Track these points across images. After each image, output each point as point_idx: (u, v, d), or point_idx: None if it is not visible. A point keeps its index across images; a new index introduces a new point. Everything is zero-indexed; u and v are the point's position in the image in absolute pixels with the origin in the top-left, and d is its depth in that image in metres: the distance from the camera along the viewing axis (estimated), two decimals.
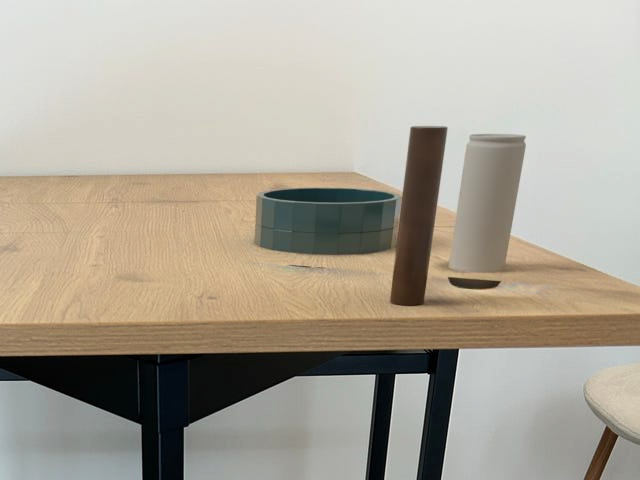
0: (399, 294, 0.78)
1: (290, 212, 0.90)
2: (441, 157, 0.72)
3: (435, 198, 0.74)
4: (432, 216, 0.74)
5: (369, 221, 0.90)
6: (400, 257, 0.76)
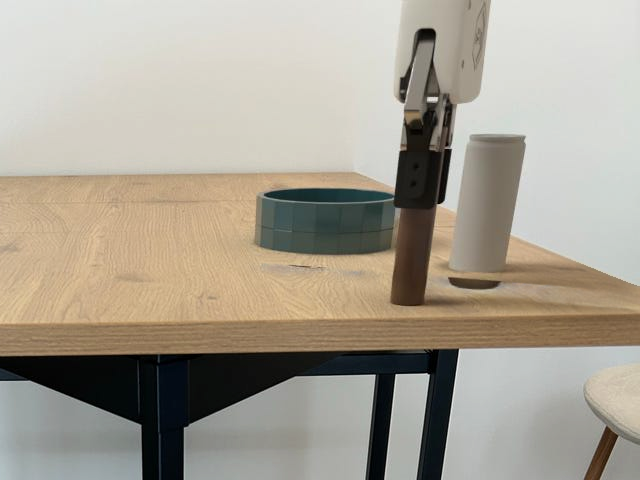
0: (399, 294, 0.78)
1: (290, 212, 0.90)
2: None
3: None
4: (432, 216, 0.74)
5: (369, 221, 0.90)
6: (400, 257, 0.76)
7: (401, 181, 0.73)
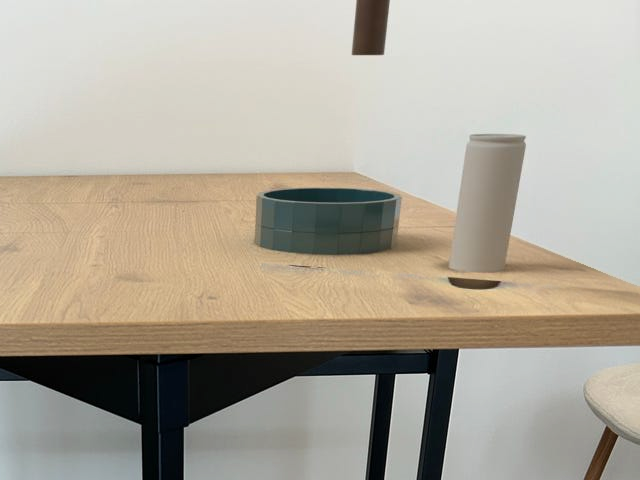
0: (360, 43, 0.80)
1: (290, 212, 0.90)
2: None
3: None
4: None
5: (369, 221, 0.90)
6: (360, 4, 0.79)
7: None
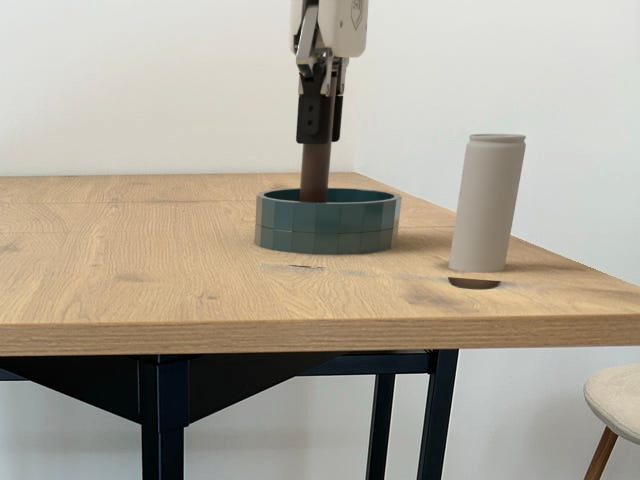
0: None
1: (290, 212, 0.90)
2: (332, 101, 0.90)
3: (329, 135, 0.91)
4: (327, 151, 0.92)
5: (369, 221, 0.90)
6: (303, 185, 0.94)
7: (301, 121, 0.90)
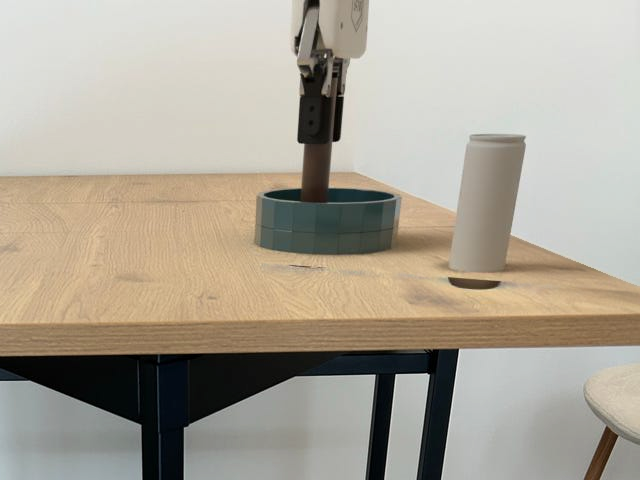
0: None
1: (290, 212, 0.90)
2: (333, 102, 0.91)
3: (330, 135, 0.93)
4: (328, 150, 0.93)
5: (369, 221, 0.90)
6: (304, 184, 0.95)
7: (302, 121, 0.92)
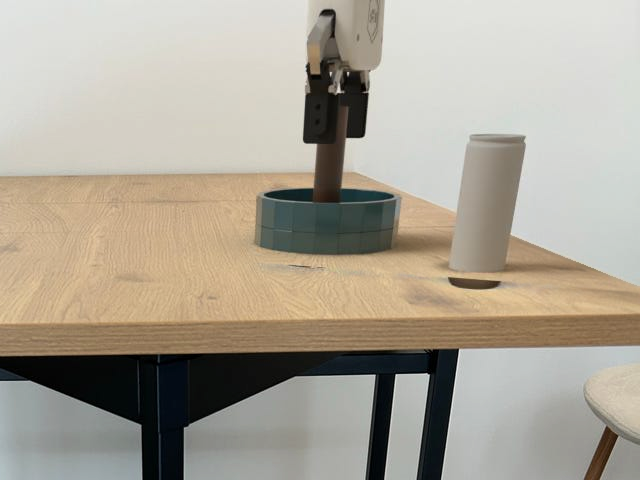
0: None
1: (290, 212, 0.90)
2: (344, 130, 0.91)
3: (341, 164, 0.92)
4: (339, 178, 0.93)
5: (369, 221, 0.90)
6: None
7: (308, 120, 0.87)
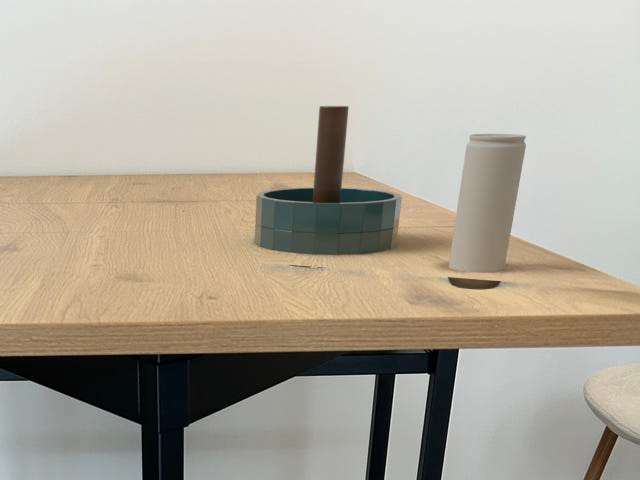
0: None
1: (290, 212, 0.90)
2: (344, 130, 0.91)
3: (341, 164, 0.92)
4: (339, 178, 0.93)
5: (369, 221, 0.90)
6: None
7: None
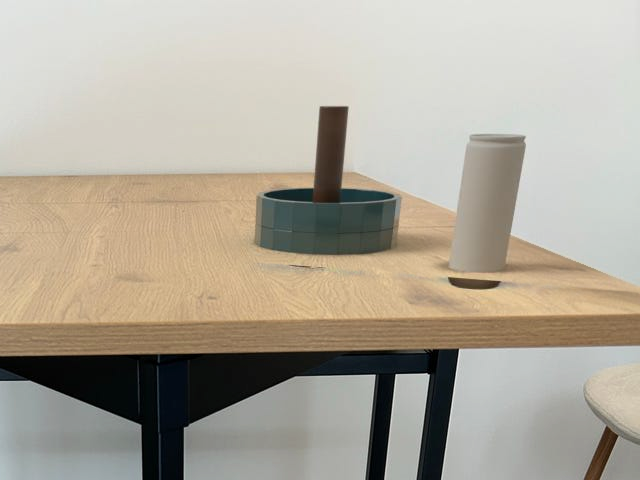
0: None
1: (290, 212, 0.90)
2: (344, 130, 0.91)
3: (341, 164, 0.92)
4: (339, 178, 0.93)
5: (369, 221, 0.90)
6: None
7: None
